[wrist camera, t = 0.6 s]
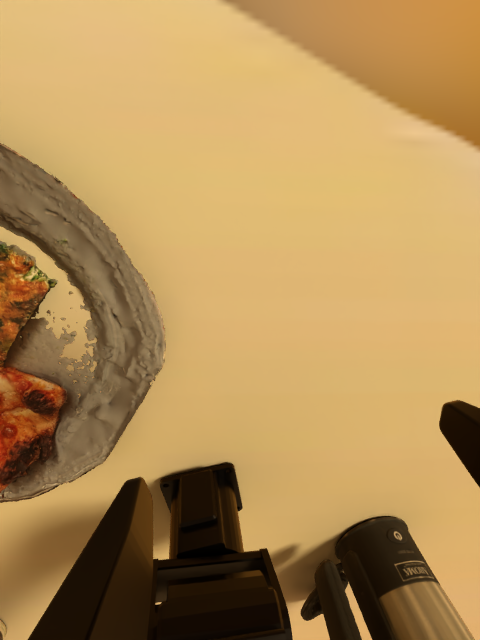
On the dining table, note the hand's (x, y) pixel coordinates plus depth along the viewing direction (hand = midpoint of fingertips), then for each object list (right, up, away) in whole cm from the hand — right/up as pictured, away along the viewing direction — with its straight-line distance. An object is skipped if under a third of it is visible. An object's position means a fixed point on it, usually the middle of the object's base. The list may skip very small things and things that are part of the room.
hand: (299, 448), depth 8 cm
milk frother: (+12, -26, +30) cm, 42 cm away
